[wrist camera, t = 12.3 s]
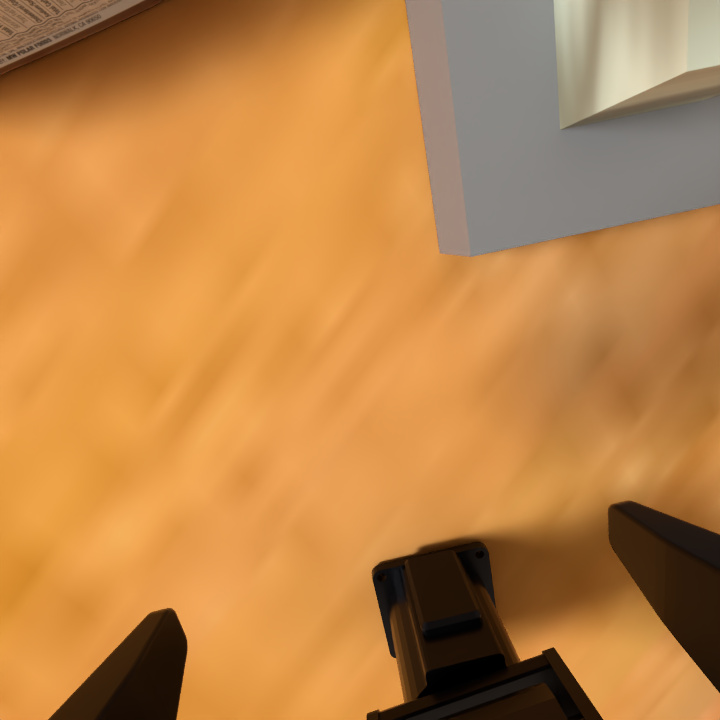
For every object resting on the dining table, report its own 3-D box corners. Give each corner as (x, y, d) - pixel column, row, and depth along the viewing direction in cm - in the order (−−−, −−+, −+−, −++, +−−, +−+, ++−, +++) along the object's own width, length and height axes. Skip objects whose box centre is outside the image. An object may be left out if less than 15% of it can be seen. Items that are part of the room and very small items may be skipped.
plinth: (694, 199, 19) (789, 189, 15) (439, 253, 19) (470, 256, 15) (707, -139, 15) (835, -264, 12) (394, -81, 15) (418, -190, 11)
